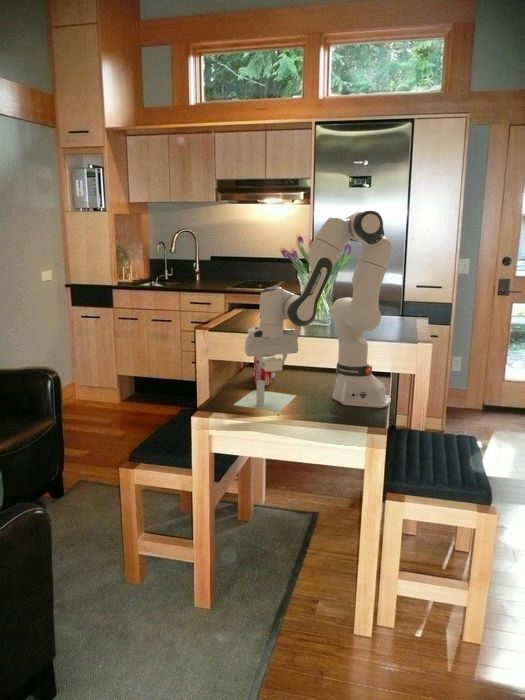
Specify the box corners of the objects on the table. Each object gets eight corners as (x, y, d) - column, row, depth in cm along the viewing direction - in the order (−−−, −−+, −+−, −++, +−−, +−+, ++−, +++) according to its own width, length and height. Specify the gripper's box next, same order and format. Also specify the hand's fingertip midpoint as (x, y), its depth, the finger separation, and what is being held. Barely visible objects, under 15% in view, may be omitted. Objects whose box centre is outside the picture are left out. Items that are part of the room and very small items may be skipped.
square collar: (277, 365, 214) (277, 355, 213) (282, 370, 208) (282, 360, 207) (261, 367, 213) (261, 357, 212) (265, 371, 207) (265, 361, 206)
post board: (296, 399, 215) (297, 373, 212) (278, 415, 197) (279, 387, 194) (253, 393, 221) (254, 368, 219) (233, 408, 203) (233, 381, 201)
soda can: (271, 389, 227) (272, 361, 224) (254, 389, 227) (254, 360, 224) (271, 384, 234) (272, 356, 231) (254, 384, 234) (255, 356, 231)
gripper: (295, 327, 212) (295, 361, 215) (243, 330, 207) (244, 365, 211) (300, 330, 206) (300, 366, 209) (247, 333, 201) (247, 370, 205)
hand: (271, 365), depth 210 cm, fingers closed on square collar, 6 cm apart
